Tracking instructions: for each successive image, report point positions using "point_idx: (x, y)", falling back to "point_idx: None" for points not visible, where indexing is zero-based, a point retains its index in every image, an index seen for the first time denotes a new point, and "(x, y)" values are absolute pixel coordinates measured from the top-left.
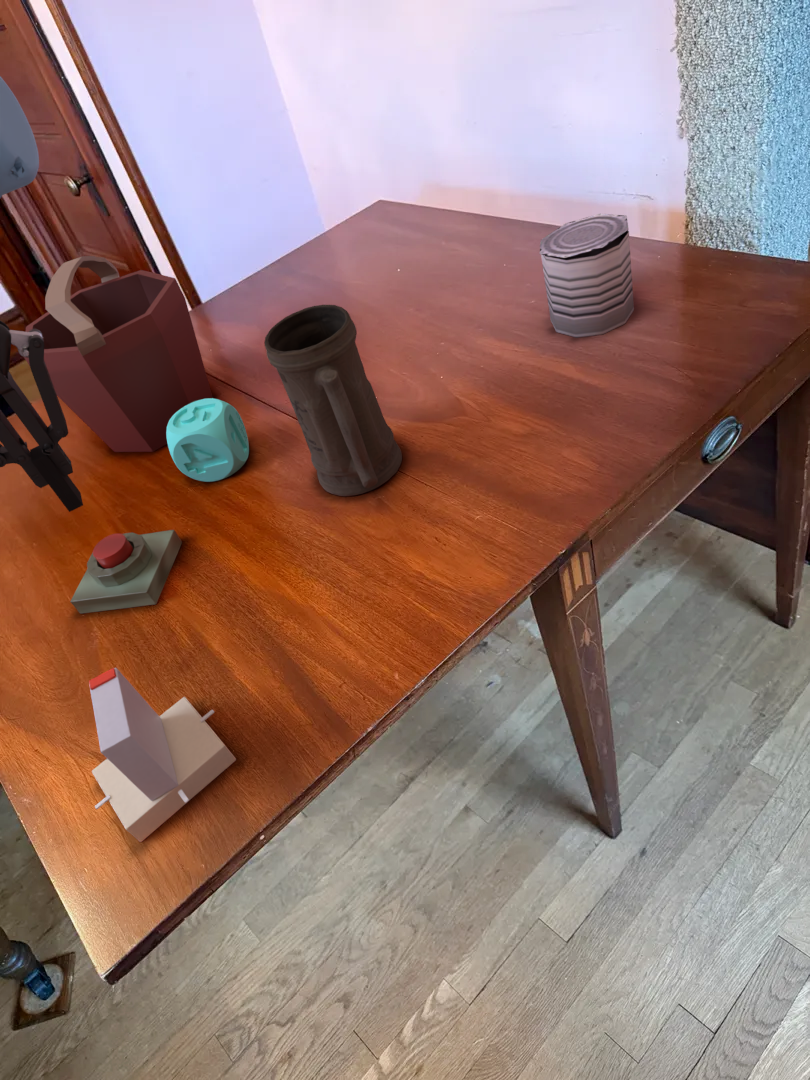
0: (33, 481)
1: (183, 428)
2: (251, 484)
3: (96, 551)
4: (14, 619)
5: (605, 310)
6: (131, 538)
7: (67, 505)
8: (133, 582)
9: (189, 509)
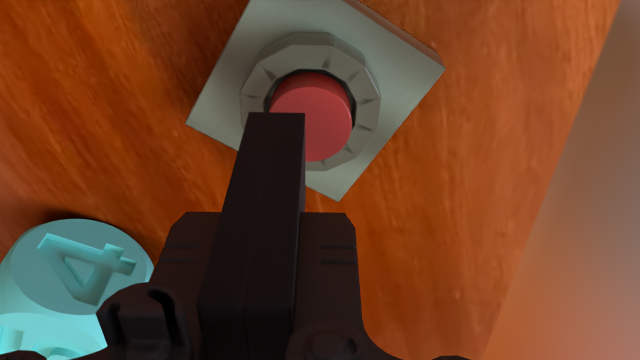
0: (353, 242)
1: (70, 337)
2: (32, 167)
3: (341, 129)
4: (553, 140)
5: None
6: None
7: (294, 125)
8: (299, 17)
9: (169, 187)
